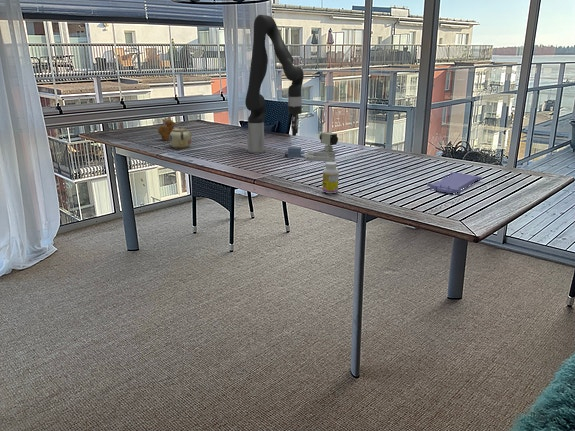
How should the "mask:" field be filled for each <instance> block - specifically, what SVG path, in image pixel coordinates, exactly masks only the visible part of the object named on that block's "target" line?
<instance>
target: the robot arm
mask: <svg viewBox="0 0 575 431" xmlns="http://www.w3.org/2000/svg"><path fill="white" fill-rule="evenodd" d="M266 36H268V37H269V39H270V40H271V42H272V45H273V49H274V50H273V51H274V54H275V56H276V58H277V59H278V62H279V63H280V65H281V67H282V71H283V73H284V75H285V78H286V79H287V80H289V81H290V82H291V84H290V85H289V87H288V99H287V113H288V115H292V116H291V118H290V125H291V126H290V127H291V135H292V136H293V137H296V136H297V134H298V133H299V132H298V131H299V120H300V117H299V116H300V115H302V111H303V110H302V109H303V106H302V105H303V103H302V102H303V100H302V87H303V82H304V71H303V69H302V67H300V66H294V64H293V63H294V57H293V56H292V53H291V52H290V51H289V49H288V47H287V45H286V43H285V42H284V40H283V37H282V35H281V33H280V31H279V28H278V25H277V23H276V21H275V19H274V17H272V16H271V15H265V14H258V15H257V16H256V17H255V19H254V22H253V39H252V40H253V44H252V52H251V60H250V71H249V79H248V87H247V91H246V96H245V100H244V101H245V102H244V103H245V107H246V109H247V110H248V111H250V113H249V116H248V118H247V129H248V135H247V152H248V153H253V154H254V153H257V154H258V153H264V152H265V117H266V100H265V97H264V96H263V95H262V94H261V92H260V90H261V88H262V87H261V86H262V84H263V81H264V79H265V77H266V74H267V72H268V63H269V58H268V52H267V48H266Z"/></svg>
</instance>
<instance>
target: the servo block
mask: <svg viewBox="0 0 575 431" xmlns="http://www.w3.org/2000/svg"><path fill="white" fill-rule="evenodd" d="M305 152H306V151H305V150H302V146H288V147H287V150H285V151H284V156H285V157H288V158H301V156H302V154H305Z"/></svg>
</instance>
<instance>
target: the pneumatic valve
mask: <svg viewBox="0 0 575 431" xmlns="http://www.w3.org/2000/svg"><path fill="white" fill-rule="evenodd" d="M319 139H320V144H325V145H324V150H323V152H333V148H334V147H333V146H334V145H335V146H336V145H337V144H338V142H339V137H338V134H337V133H334V132H331V131H330V130H329V131H324V132H321V134H320V136H319Z"/></svg>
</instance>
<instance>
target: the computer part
mask: <svg viewBox="0 0 575 431" xmlns="http://www.w3.org/2000/svg"><path fill="white" fill-rule="evenodd" d="M449 174H450V175H448V173H447V174H445V175H443V176H442V178H441V180H437V181H436V182H433V183H432V182H427V183H426V187H429V188H430V189H434V190H436V191H437V192H440V191H441V192H440V193H444V192H446V193H445V194H450V193H456V192H458V193H461V192H462V191H461V189H463V188H465V187H467V186H469V185H470V184H472V183H474V182H475V181H477V180H478V181H483V177H482V176H478V175H473V174H468V173H467V174H466V173H462V172H461V173H460V172H454V171H453V172H452V171H451V172H449ZM478 181H477V182H478ZM474 184H475V183H474ZM472 185H473V184H472ZM470 186H471V185H470ZM470 186H469V187H470ZM467 188H468V187H467ZM430 189H429V190H430ZM465 189H466V188H465ZM463 190H464V189H463ZM456 194H457V193H456Z"/></svg>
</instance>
